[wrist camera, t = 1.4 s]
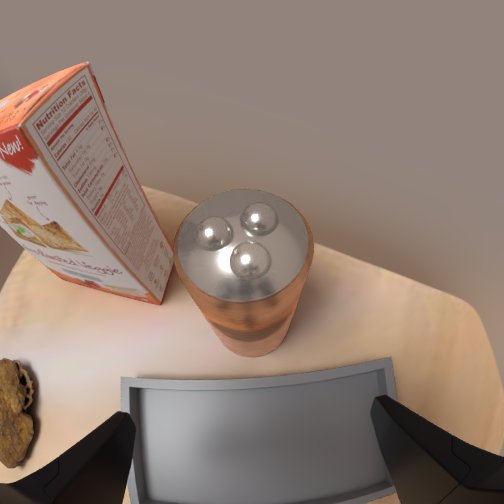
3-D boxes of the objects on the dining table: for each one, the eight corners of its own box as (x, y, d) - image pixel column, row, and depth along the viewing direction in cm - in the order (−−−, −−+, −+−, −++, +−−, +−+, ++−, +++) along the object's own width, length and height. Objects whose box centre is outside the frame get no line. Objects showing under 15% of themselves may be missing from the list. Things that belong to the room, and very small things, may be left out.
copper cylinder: (303, 322, 23) (347, 231, 11) (248, 372, 21) (231, 336, 9) (254, 275, 26) (247, 156, 14) (201, 318, 24) (141, 226, 12)
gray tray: (389, 483, 15) (401, 490, 12) (142, 501, 15) (131, 509, 12) (379, 361, 21) (391, 356, 19) (133, 379, 21) (120, 376, 19)
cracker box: (61, 283, 26) (-59, 160, 8) (80, 239, 29) (-15, 106, 11) (161, 311, 24) (11, 122, 6) (179, 255, 27) (92, 53, 9)
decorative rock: (10, 338, 23) (-13, 421, 16) (-12, 328, 19) (-33, 417, 13) (55, 391, 20) (29, 479, 13) (27, 386, 16) (6, 481, 10)
